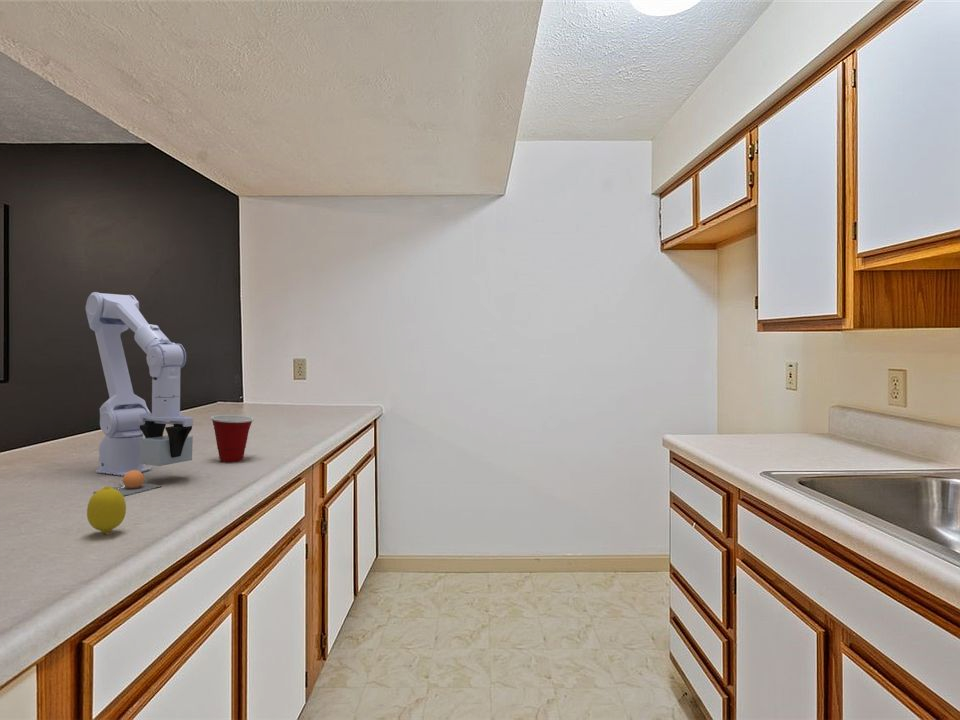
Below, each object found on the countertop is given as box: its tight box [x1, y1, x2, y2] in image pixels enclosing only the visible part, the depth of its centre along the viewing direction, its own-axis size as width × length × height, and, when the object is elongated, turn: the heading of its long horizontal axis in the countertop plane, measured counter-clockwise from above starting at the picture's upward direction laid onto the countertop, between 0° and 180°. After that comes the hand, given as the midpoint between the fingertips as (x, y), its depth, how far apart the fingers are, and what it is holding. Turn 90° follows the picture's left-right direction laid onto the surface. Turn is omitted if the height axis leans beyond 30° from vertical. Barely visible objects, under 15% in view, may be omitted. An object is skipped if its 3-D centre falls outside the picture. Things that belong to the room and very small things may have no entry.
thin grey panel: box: [93, 482, 161, 497], centre depth 129 cm, size 8×10×1 cm
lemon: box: [86, 485, 127, 535], centre depth 100 cm, size 6×6×8 cm
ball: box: [122, 470, 145, 489], centre depth 130 cm, size 4×4×4 cm
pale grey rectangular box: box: [140, 434, 194, 467], centre depth 138 cm, size 6×9×6 cm, turn 159°
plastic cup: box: [210, 414, 255, 463], centre depth 162 cm, size 11×11×12 cm
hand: (165, 455), depth 138 cm, fingers closed on pale grey rectangular box, 6 cm apart
